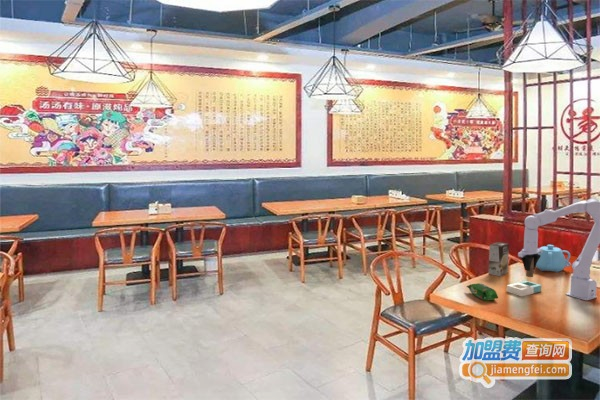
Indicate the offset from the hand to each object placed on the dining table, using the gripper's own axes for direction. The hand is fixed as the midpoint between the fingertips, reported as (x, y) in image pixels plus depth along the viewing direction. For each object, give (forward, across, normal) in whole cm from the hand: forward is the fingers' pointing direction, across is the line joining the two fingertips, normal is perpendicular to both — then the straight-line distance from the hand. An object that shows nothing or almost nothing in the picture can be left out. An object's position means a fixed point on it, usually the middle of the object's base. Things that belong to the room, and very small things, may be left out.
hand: (529, 269), depth 211 cm
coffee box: (+10, -10, -26) cm, 29 cm away
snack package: (+10, +25, -5) cm, 28 cm away
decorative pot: (+10, -39, -16) cm, 43 cm away
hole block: (+10, +4, 0) cm, 11 cm away
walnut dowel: (+3, 0, 0) cm, 3 cm away
